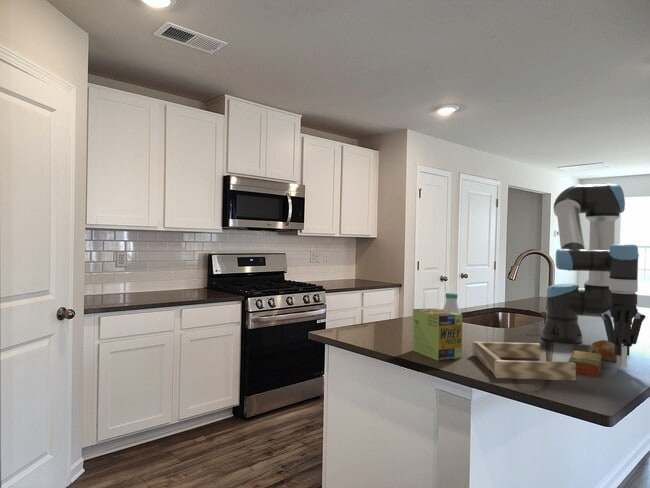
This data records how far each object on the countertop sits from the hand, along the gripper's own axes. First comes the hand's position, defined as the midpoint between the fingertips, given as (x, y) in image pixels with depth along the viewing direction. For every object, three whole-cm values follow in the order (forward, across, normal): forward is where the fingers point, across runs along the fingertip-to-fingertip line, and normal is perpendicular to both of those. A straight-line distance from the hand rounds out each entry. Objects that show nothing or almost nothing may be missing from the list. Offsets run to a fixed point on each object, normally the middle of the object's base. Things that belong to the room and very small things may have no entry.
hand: (621, 365), depth 138 cm
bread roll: (+2, -3, -15) cm, 16 cm away
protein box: (+2, +56, -13) cm, 58 cm away
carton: (+2, +11, 0) cm, 11 cm away
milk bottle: (+2, +47, -30) cm, 56 cm away
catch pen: (+1, +32, 0) cm, 32 cm away
